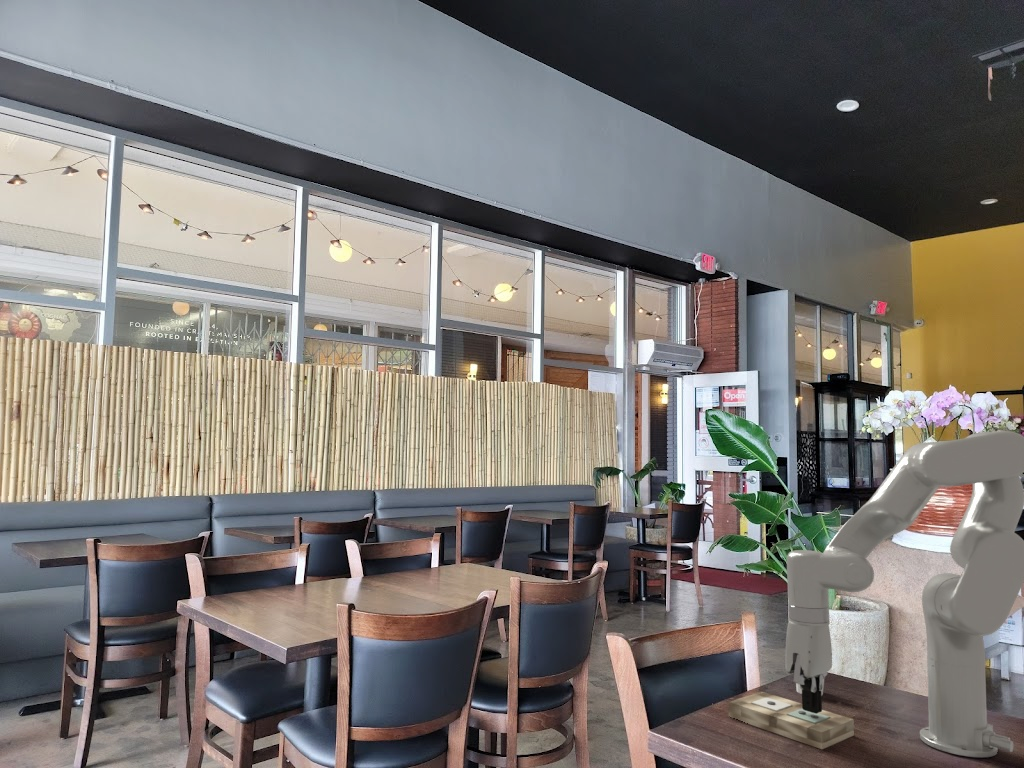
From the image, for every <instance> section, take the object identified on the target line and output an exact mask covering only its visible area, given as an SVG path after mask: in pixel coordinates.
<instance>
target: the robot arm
mask: <svg viewBox="0 0 1024 768" xmlns="http://www.w3.org/2000/svg"><path fill="white" fill-rule="evenodd" d="M1023 473H1024V436H1023V435H1022V434H1020V433H1018V432H1015V431H1011V430H994V431H982V432H981V431H980V432H975V433H972V434H970V435H967V436H966V437H965V438H960V439H953V440H944V441H943V440H942V441H932V442H931V441H930V442H929V441H926V442H918V443H916V444H914V445H912V446H910V447H909V448H908V449H907V450H905V451H904V453H903V454H902V456H901V457H900V458H899V460H898V461H897V462H896V464H895V465H894V466H893V467H892V469H891V470H890V472H889V473H888V475H887V476H886V477H885V479H884V480H883V481H882V483H881V484H880V485H879V487H878V488H877V489H876V491H875V492H874V493H873V494H872V496H871V497H870V498H869V500H868V501H866V502H865V503H864V504H863V505H862V506H861V507H860V508H859V509H858V510H857V511H856V512H855V513H854V514H853V515H852V516H851V517H850V518H849V519H848V520H847V521H846V522H845V523H844V524H843V525H842V526H841V527H840V529H839V530H837V533H836V534H835V535H834V537H833V538H832V540H831V541H830V542H828V545H827V546H826V547H825V549H824V550H823V552H820V551H817V550H811V549H795V550H791V551H789V552H788V553H787V556H786V574H787V576H786V577H787V580H786V581H787V603H788V605H787V607H788V608H787V609H788V623H787V628H786V636H785V637H786V638H785V671H786V673H788V674H790V675H792V674H793V683H794V684H796V683H797V684H800V688H801V689H802V694H801V702H802V703H801V704H802V708H803V710H805V711H809V712H812V713H816V714H817V713H819V712H822V710H823V706H822V705H823V701H822V700H823V697H822V696H823V695H822V696H821V691H819V690H822V688H823V689H824V687H823V678H824V679H825V678H826V676H828V672H829V671H830V670H831V669H832V666H833V649H832V638H831V631H830V630H831V629H830V600H829V599H830V597H829V590H836V591H842V592H849V593H859V592H863V591H865V590H867V589H868V588H869V587H870V586H871V585H872V584H873V582H874V579H875V571H874V568H873V566H872V564H871V563H870V561H869V560H868V559H867V558H868V557H869V555H870V554H872V552H873V550H874V549H876V548H877V546H879V545H880V544H881V543H882V542H884V541H885V540H886V539H888V538H890V537H892V536H894V535H896V534H899V533H901V532H903V531H906V529H908V528H909V527H911V525H913V524H914V522H915V521H916V519H917V518H918V516H919V515H920V514H921V512H922V511H923V510H924V509H925V507H926V506H927V504H928V503H929V501H930V500H931V498H933V496H934V495H935V494H936V492H937V491H938V490H939V488H950V487H959V486H966V485H972V492H971V495H970V499H969V502H968V504H967V507H966V509H965V511H964V513H963V516H962V518H961V520H960V522H959V525H958V527H957V528H956V531H955V533H954V535H953V537H952V540H951V542H950V547H949V551H950V556H951V558H952V560H953V561H954V562H955V564H957V565H958V566H959V567H960V568H962V569H963V570H962V573H961V574H956V573H951V572H949V573H948V572H947V573H946V572H944V573H940V574H936V575H934V576H932V577H931V578H930V579H928V581H927V582H926V583H925V585H924V587H923V589H922V595H921V596H922V597H921V603H922V606H921V607H922V612H923V617H924V623H925V632H926V651H927V653H926V654H927V656H926V659H927V661H926V663H927V701H928V705H927V706H928V708H927V709H928V726H926V727H923V728H921V729H920V730H919V739H920V740H921V741H922V742H923V743H925V744H926V745H928V746H929V747H932V748H934V749H936V750H939V751H941V752H945V753H949V754H953V755H957V756H963V757H967V758H968V757H969V758H990V757H994V756H996V755H997V754H998V753H997V752H999V750H998V749H1000V750H1002V751H1005V752H1009V753H1013V751H1014V742H1013V740H1011V738H1010V737H1007V736H1004V735H1000V734H997V733H996V732H995V731H994V727H993V725H994V724H992V723H991V724H990V723H988V719H987V718H988V716H987V715H988V714H987V711H988V710H987V684H986V683H987V681H986V648H985V643H984V637H985V636H989V635H992V634H994V633H995V632H997V631H998V630H999V629H1000V628H1002V626H1003V625H1004V624H1005V622H1006V621H1007V619H1008V616H1009V615H1010V613H1011V611H1012V609H1013V606H1014V604H1015V602H1016V599H1017V598H1018V595H1019V593H1020V591H1021V589H1022V586H1023V584H1024V539H1023V538H1022V537H1021V536H1020V535H1019V534H1017V533H1016V532H1015V531H1016V528H1017V527H1018V523H1019V521H1020V518H1021V516H1022V513H1023V510H1024V486H1023V483H1022V481H1021V477H1020V475H1021V474H1023Z"/></svg>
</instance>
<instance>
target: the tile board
mask: <svg viewBox="0 0 1024 768" xmlns="http://www.w3.org/2000/svg"><path fill="white" fill-rule="evenodd" d="M766 697H767V698H770V699H774V700H777V701H780V702H783V703H787V704H790V705H791V707H790V708H787V709H784V710H781V711H778V712H775V711H772V710H769V709H766V708H763V707H759V706H756V705H753V704H751V702H754V701H757V700H760V699H763V698H766ZM799 709H802V703H801V702H798V701H795V700H791V699H788V698H784V697H781V696H777V695H774V694H771V693H768V692H765V691H759V692H755V693H753V694H750V695H746V696H743V697H739V698H736V699H733V700H731V701H728V717H729V716H730V717H732V718H731V719H733V718H735V719H734V720H736V719H738V720H741V721H743V722H742V723H744V722H745V723H744V724H747V723H748V724H747V725H750V726H754V727H755V728H756V727H757V728H759V729H762V730H765V731H768V732H771V733H774V734H776V735H780V736H782V737H785V738H788V739H791V740H794V741H797V742H800V743H803V744H805V745H809V746H811V747H814V748H818V749H820V750H824V749H826V748H829V747H830V746H834V745H837V744H838V743H840V742H842V741H844V740H847V739H848V738H851V737H853V736H855V729H854V728H855V727H854V726H855V725H854V724H855V720H854V718H850V717H848V716H844V715H841V714H837V713H834V712H831V711H828V710H824V709H822V712H819V714H822V715H826V716H829V719H827V720H825V721H822V722H820V723H817V724H812V723H809V722H806V721H803V720H800V719H797V718H794V717H791V716H788V715H787V714H788V713H791V712H794V711H797V710H799ZM730 717H729V718H730ZM738 720H737V721H738ZM741 721H740V722H741Z"/></svg>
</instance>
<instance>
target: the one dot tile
mask: <svg viewBox="0 0 1024 768" xmlns="http://www.w3.org/2000/svg"><path fill="white" fill-rule="evenodd" d="M751 704H753V705H756V706H759V707H763V708H766V709H769V710H772V711H775V712H778V711H781V710H784V709H787V708H790V707H791V705H790V704H787V703H783V702H780V701H777V700H774V699H770V698H767V697H766V698H763V699H760V700H757V701H754V702H751Z"/></svg>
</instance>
